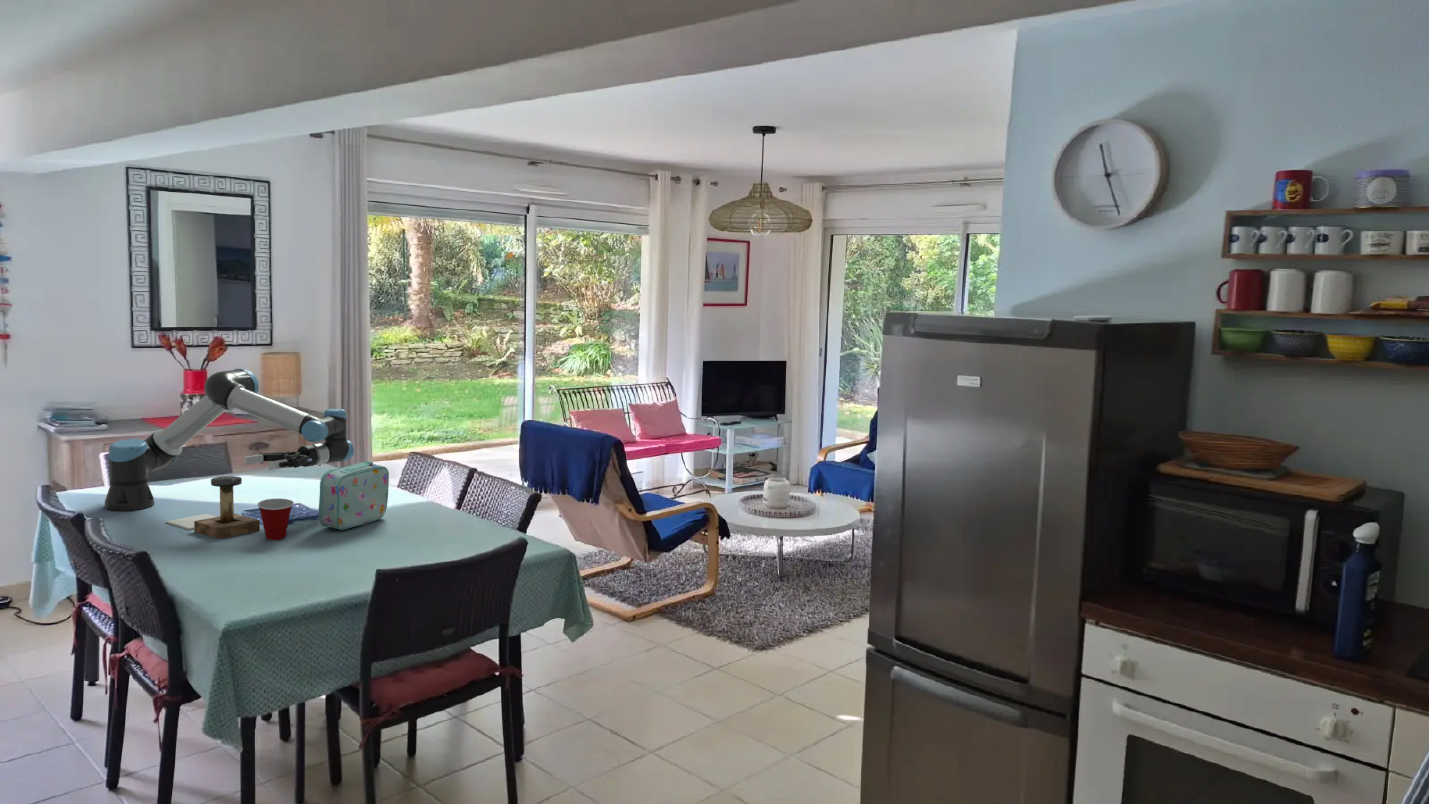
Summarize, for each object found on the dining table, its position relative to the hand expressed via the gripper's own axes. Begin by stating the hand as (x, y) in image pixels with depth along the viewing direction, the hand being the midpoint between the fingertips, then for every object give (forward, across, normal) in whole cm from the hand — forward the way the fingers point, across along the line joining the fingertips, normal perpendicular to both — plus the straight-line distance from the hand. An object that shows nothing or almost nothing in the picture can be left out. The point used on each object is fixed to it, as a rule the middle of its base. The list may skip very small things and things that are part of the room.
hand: (256, 463), depth 323 cm
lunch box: (-22, -22, -22) cm, 38 cm away
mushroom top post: (+11, 0, -21) cm, 24 cm away
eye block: (+11, 0, -21) cm, 24 cm away
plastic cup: (+6, -19, -22) cm, 29 cm away
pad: (+11, +17, -21) cm, 29 cm away
